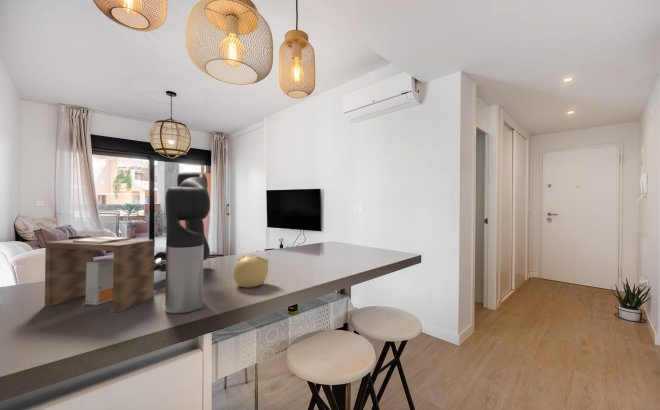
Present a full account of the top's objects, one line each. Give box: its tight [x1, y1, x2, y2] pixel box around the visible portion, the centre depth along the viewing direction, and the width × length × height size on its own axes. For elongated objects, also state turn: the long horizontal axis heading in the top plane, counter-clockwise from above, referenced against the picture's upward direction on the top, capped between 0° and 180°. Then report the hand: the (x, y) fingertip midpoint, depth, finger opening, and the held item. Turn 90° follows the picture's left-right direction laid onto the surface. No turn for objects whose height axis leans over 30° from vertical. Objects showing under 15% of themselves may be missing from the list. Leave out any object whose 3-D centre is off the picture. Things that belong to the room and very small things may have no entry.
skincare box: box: [84, 257, 114, 306], centre depth 80 cm, size 6×4×12 cm
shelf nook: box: [44, 236, 155, 313], centre depth 80 cm, size 12×23×18 cm, turn 81°
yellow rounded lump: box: [232, 254, 269, 288], centre depth 98 cm, size 11×12×11 cm
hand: (135, 269), depth 91 cm, fingers open, 8 cm apart
